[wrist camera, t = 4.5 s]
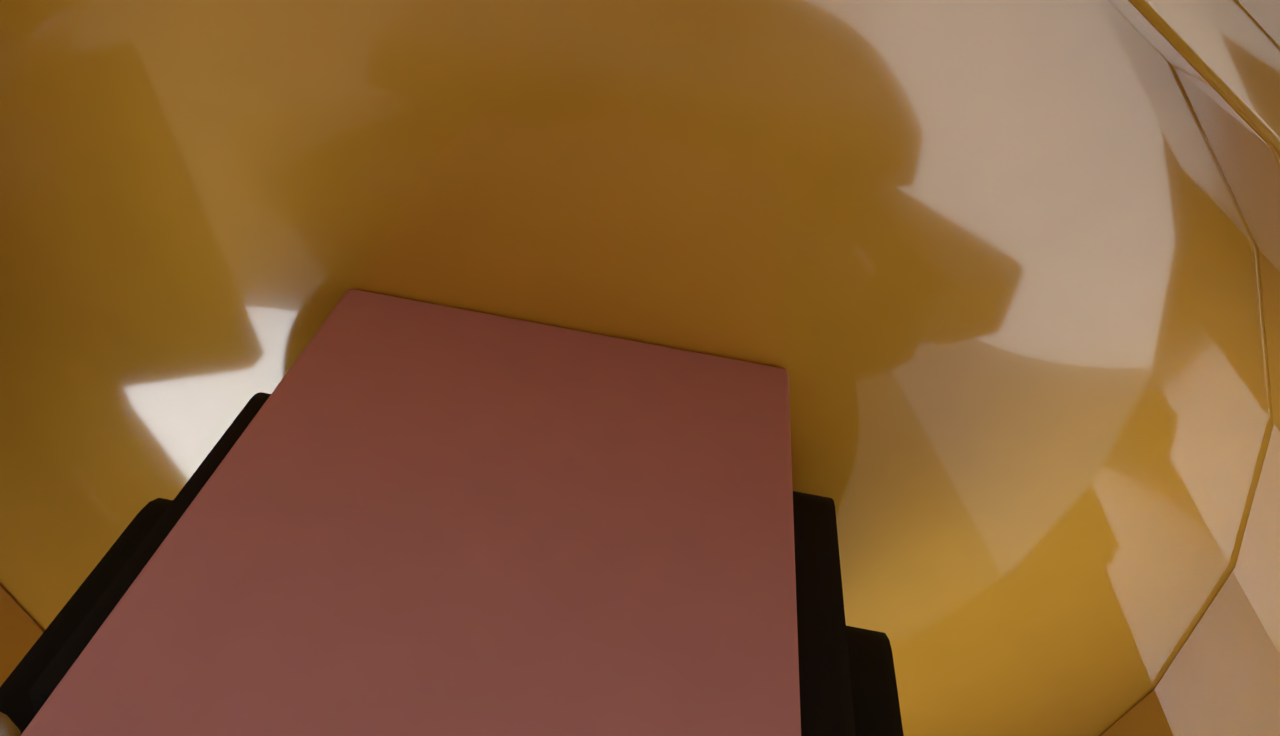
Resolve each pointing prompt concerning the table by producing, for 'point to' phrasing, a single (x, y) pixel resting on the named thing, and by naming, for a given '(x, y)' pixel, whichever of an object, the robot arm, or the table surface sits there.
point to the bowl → (711, 286)
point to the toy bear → (470, 548)
